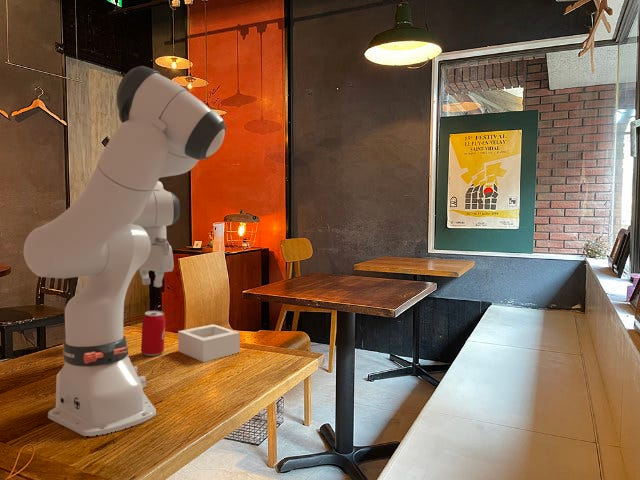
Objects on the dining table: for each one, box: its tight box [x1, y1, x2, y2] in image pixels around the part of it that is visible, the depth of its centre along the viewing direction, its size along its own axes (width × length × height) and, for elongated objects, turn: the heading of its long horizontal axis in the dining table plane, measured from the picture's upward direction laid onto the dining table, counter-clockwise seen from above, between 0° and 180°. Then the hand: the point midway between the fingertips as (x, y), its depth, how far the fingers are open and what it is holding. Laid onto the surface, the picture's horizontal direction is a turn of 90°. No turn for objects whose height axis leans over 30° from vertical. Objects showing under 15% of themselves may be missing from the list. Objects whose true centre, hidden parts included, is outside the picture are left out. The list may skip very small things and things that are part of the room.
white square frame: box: [177, 323, 241, 363], centre depth 137 cm, size 14×12×6 cm
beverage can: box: [140, 310, 166, 357], centre depth 135 cm, size 6×6×12 cm
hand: (152, 285), depth 134 cm, fingers open, 6 cm apart
